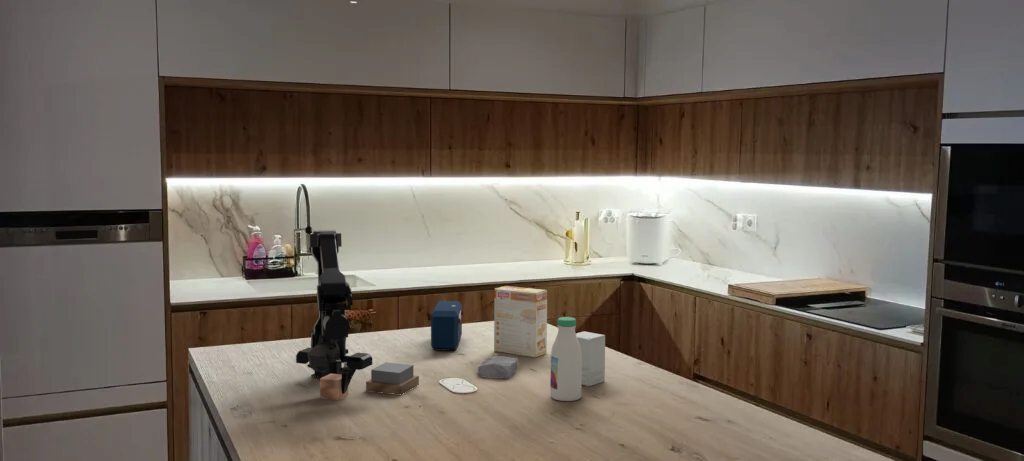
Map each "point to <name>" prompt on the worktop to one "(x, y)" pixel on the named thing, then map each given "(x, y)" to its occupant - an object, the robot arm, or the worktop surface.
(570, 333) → the milk bottle
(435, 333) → the radio
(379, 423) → the worktop surface
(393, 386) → the tower base block
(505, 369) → the stone block
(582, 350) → the supplement box
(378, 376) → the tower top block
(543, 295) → the coffeecake box
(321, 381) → the terracotta cube
